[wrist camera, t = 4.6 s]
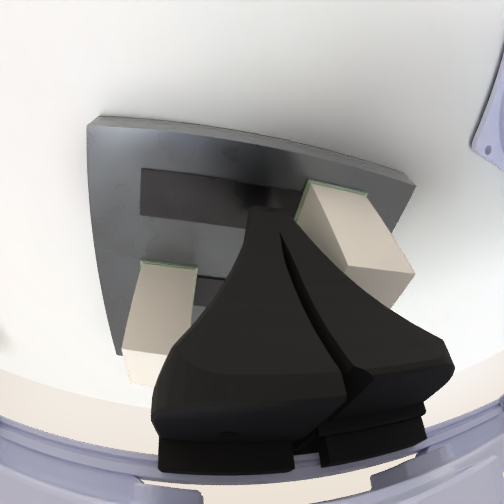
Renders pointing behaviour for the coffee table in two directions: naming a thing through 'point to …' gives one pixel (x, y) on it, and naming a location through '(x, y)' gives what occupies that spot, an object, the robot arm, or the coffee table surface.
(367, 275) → the switch
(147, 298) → the switch
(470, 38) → the coffee table surface
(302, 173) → the switch unit
